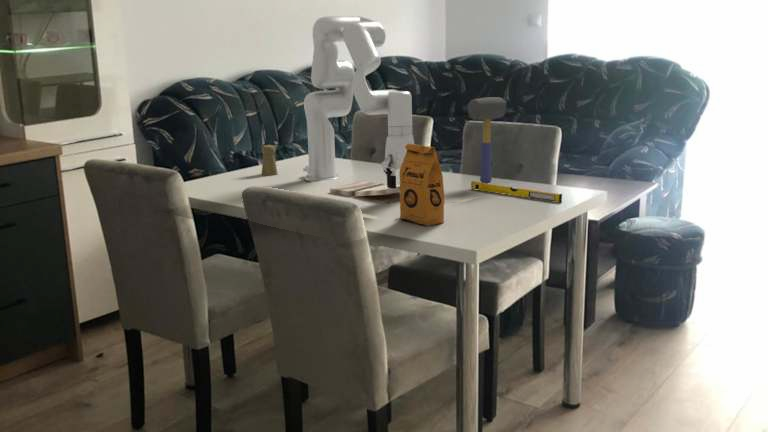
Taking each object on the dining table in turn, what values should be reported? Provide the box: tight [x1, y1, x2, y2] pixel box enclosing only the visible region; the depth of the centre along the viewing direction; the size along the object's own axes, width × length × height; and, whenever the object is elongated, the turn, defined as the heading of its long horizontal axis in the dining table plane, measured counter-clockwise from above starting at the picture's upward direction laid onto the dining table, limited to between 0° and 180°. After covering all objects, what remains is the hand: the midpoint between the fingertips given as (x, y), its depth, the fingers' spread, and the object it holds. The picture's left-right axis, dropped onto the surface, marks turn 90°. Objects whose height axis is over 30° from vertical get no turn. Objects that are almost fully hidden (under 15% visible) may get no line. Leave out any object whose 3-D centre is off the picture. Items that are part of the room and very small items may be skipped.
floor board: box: [329, 180, 400, 204], centre depth 268 cm, size 26×17×3 cm, turn 49°
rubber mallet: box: [467, 96, 507, 184], centre depth 282 cm, size 12×8×30 cm, turn 122°
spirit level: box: [470, 180, 563, 204], centre depth 267 cm, size 33×1×3 cm, turn 49°
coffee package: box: [399, 143, 445, 227], centre depth 232 cm, size 10×12×22 cm
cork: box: [261, 144, 278, 177], centre depth 308 cm, size 6×6×11 cm
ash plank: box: [355, 182, 400, 196], centre depth 264 cm, size 14×15×2 cm
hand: (401, 185), depth 259 cm, fingers open, 9 cm apart
